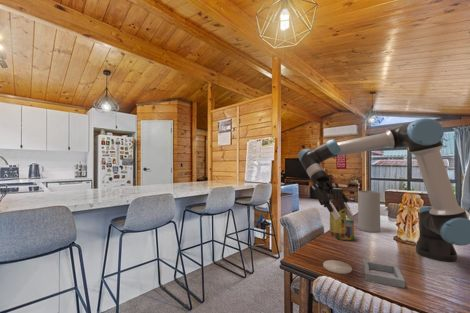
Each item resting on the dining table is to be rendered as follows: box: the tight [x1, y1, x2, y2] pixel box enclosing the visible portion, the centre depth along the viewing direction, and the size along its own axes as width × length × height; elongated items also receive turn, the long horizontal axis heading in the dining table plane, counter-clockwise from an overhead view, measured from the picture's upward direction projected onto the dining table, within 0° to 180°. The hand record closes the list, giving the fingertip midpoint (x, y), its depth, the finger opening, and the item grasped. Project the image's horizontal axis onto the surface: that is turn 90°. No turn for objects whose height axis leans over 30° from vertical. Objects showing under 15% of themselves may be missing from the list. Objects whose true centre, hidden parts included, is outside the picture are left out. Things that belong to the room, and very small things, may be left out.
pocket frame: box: [362, 259, 406, 289], centre depth 89 cm, size 12×13×2 cm
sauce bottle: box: [329, 187, 347, 238], centre depth 97 cm, size 6×6×20 cm
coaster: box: [322, 259, 353, 275], centre depth 96 cm, size 11×11×1 cm
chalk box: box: [335, 216, 355, 241], centre depth 135 cm, size 9×9×15 cm
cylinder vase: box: [357, 190, 381, 233], centre depth 151 cm, size 12×12×25 cm
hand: (344, 217), depth 93 cm, fingers closed on sauce bottle, 6 cm apart
